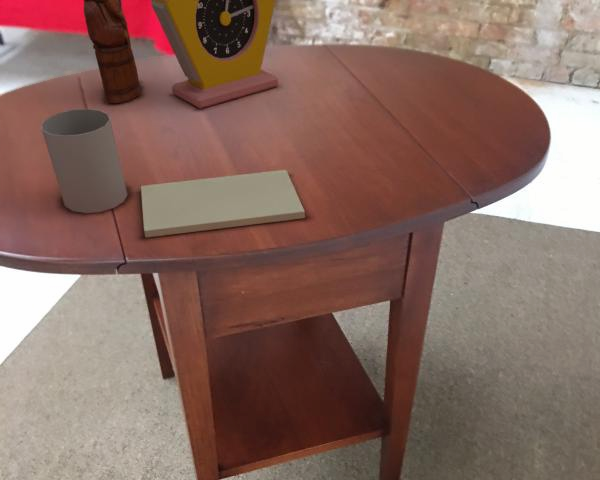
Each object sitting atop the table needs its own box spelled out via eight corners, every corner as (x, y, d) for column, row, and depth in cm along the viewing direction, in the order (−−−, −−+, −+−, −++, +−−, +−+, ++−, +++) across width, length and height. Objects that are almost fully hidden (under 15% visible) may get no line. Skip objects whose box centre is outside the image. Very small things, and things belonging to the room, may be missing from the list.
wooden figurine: (140, 103, 109) (117, -20, 96) (102, 106, 108) (74, -18, 95) (141, 79, 117) (120, -37, 104) (106, 82, 116) (80, -35, 104)
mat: (145, 237, 77) (143, 230, 77) (142, 192, 86) (140, 185, 85) (304, 218, 80) (304, 211, 79) (286, 176, 88) (286, 169, 88)
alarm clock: (186, 114, 105) (164, -42, 90) (158, 98, 110) (133, -52, 95) (291, 83, 114) (287, -63, 99) (261, 70, 119) (253, -71, 104)
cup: (95, 177, 89) (76, 104, 82) (139, 191, 86) (124, 116, 79) (50, 203, 84) (26, 127, 77) (96, 218, 81) (75, 141, 74)
